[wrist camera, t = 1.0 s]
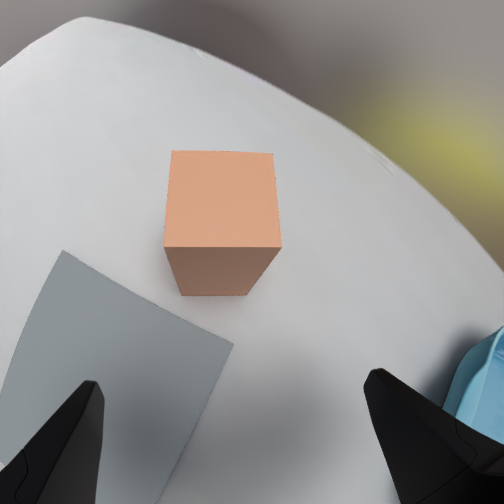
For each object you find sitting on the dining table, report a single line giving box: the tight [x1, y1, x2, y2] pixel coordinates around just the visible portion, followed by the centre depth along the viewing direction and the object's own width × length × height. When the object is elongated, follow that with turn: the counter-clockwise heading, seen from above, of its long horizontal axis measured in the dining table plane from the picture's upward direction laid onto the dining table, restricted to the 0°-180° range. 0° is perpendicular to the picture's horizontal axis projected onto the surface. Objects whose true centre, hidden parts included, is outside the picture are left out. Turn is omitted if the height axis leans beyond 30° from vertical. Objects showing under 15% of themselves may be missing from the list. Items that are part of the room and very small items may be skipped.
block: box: [164, 151, 282, 296], centre depth 18 cm, size 5×5×11 cm
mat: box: [0, 250, 233, 504], centre depth 17 cm, size 22×16×1 cm
